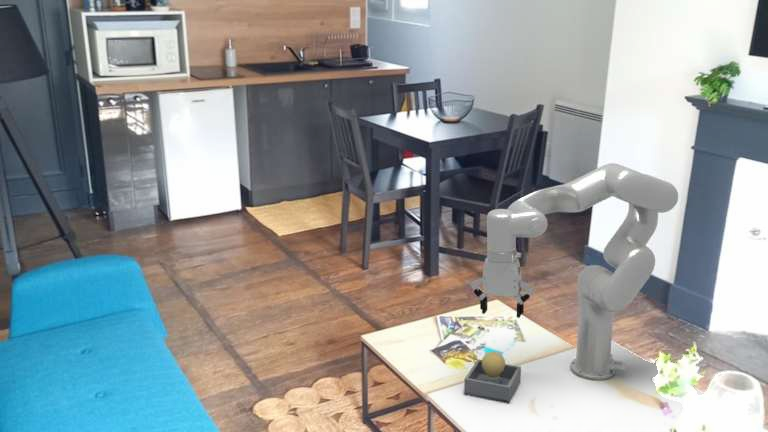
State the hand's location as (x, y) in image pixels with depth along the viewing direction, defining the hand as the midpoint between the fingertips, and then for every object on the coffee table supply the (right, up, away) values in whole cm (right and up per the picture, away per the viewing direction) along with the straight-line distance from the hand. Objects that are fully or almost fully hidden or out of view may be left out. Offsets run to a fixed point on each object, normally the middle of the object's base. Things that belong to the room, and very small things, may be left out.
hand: (501, 313), depth 199 cm
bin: (-2, -21, +3) cm, 21 cm away
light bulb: (-2, -21, +3) cm, 21 cm away
